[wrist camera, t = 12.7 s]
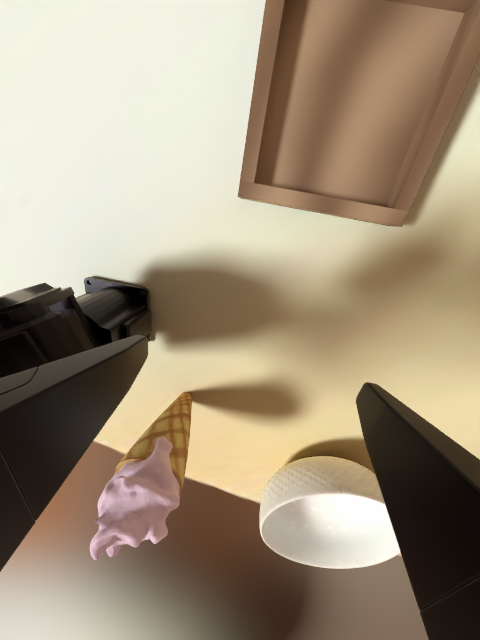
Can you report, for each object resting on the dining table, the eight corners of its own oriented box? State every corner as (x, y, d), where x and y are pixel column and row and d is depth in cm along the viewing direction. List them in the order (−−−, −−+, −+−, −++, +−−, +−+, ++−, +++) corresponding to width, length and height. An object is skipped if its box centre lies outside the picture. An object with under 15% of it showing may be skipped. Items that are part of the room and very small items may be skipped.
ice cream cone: (163, 369, 27) (55, 527, 13) (213, 378, 26) (157, 549, 13) (164, 409, 29) (78, 572, 16) (210, 417, 29) (161, 590, 16)
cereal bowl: (344, 517, 36) (361, 582, 29) (246, 488, 35) (242, 548, 29) (409, 455, 28) (450, 525, 22) (285, 418, 28) (291, 478, 22)
